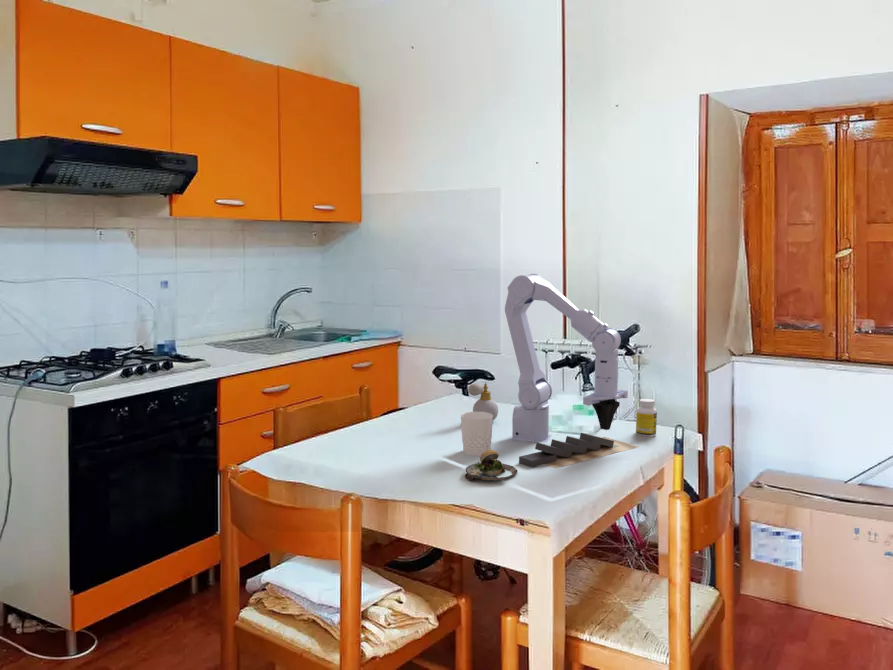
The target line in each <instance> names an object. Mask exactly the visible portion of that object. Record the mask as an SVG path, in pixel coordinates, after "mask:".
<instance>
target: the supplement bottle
mask: <svg viewBox="0 0 893 670" xmlns="http://www.w3.org/2000/svg"><path fill="white" fill-rule="evenodd" d="M638 403H639V406H638V407H637V408H636V411H635V412H636V416H635V419H636V420H635V422H636V423H635V434H636V435H639V436H644V437H650V438H654V437H656V436H657V420H658V419H657V418H658V417H657V415H658V411H657V409H656V407H655V405H656V404H655V399H652V398H639V402H638Z"/></svg>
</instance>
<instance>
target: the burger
mask: <svg viewBox="0 0 893 670" xmlns="http://www.w3.org/2000/svg"><path fill="white" fill-rule="evenodd" d="M486 443H487V442H486ZM499 456H500V455H499V453H498V452H497V451H496V450H492V449H490V450H488V448H487V451H485V452H484V453H483V454H482V455H481V456H479V461H477V463H476V462H475V463H473V464H469V465H468V466H466V468H465V472H466V473H465V475H464V478H465V479H466V480H468V481H470V482H472V481H473V478H475V479H477V480H483V481H500V480H505V479H508V478H510V477H512V476H513V475H516V474H518V469H516V467H514V466H513V465H510V464H507V463H506V464H505V463H502V461H501V460H498V458H499ZM506 471H509V472H511V474H510V475H508V476H502V477H499V475H501V474H502V473H505V472H506Z"/></svg>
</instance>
